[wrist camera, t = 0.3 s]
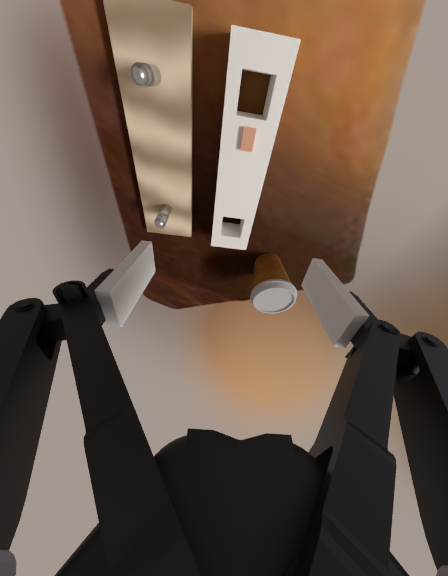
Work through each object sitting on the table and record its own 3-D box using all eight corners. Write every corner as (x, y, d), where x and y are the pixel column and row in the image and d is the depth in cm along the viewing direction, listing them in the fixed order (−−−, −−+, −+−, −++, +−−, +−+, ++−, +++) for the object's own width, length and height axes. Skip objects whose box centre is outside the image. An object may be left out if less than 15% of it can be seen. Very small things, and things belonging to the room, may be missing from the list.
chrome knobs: (147, 63, 23) (126, 59, 19) (162, 65, 24) (144, 63, 19) (163, 210, 37) (153, 229, 33) (173, 211, 37) (164, 231, 33)
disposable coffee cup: (261, 281, 52) (266, 319, 44) (240, 260, 47) (241, 299, 39) (294, 265, 47) (306, 303, 39) (274, 239, 42) (284, 278, 34)
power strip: (231, 32, 22) (231, 23, 18) (290, 44, 22) (302, 38, 19) (212, 231, 41) (210, 247, 37) (244, 236, 42) (246, 251, 38)
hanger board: (106, -11, 20) (100, -15, 19) (192, 7, 21) (190, 4, 20) (149, 227, 41) (147, 231, 40) (191, 233, 41) (190, 237, 40)
